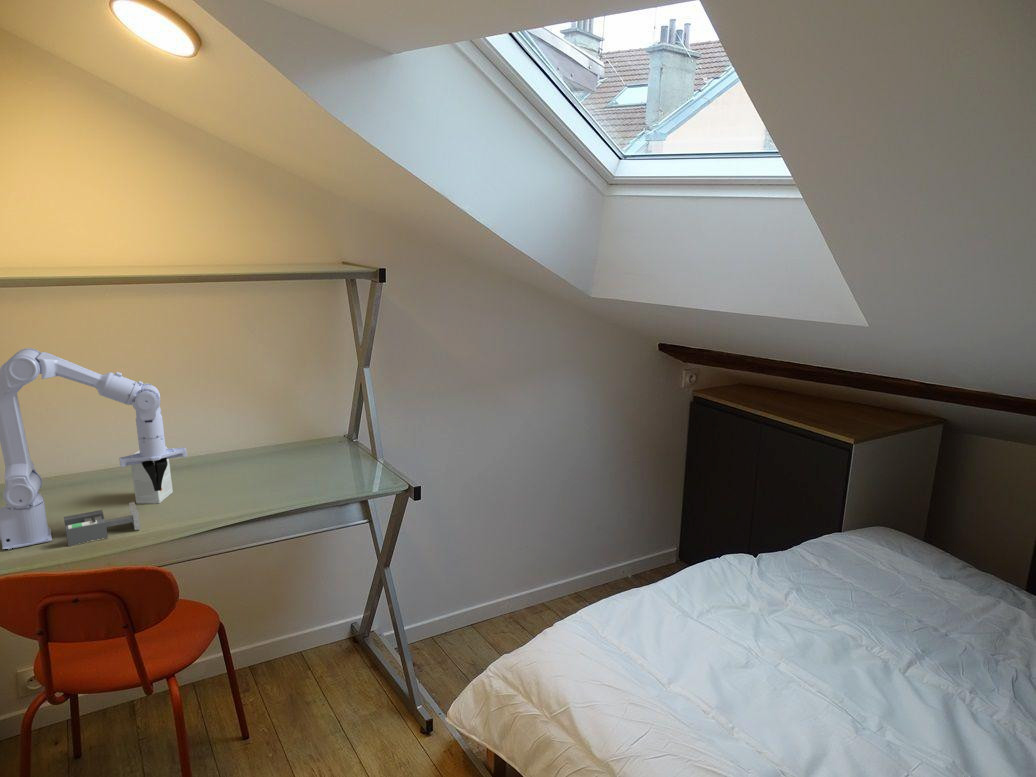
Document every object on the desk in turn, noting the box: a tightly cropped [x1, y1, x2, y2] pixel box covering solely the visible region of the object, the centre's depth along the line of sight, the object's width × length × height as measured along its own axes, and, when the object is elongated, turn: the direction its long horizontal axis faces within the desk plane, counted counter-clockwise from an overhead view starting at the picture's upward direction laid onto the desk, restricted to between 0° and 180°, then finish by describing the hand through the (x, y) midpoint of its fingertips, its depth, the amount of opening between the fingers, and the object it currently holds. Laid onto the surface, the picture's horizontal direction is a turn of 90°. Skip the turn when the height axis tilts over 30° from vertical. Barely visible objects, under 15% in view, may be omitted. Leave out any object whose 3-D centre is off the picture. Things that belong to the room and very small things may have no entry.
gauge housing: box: [63, 509, 109, 547], centre depth 180 cm, size 8×9×4 cm
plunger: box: [84, 501, 141, 531], centre depth 183 cm, size 11×8×4 cm
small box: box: [130, 446, 174, 505], centre depth 203 cm, size 8×6×13 cm
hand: (157, 489), depth 187 cm, fingers closed
